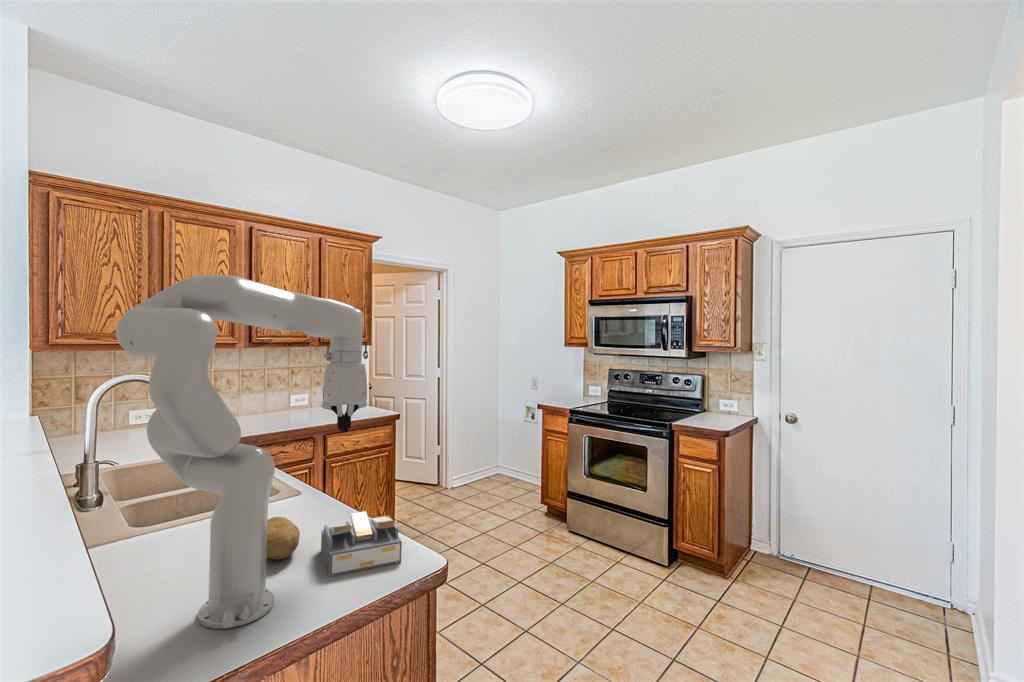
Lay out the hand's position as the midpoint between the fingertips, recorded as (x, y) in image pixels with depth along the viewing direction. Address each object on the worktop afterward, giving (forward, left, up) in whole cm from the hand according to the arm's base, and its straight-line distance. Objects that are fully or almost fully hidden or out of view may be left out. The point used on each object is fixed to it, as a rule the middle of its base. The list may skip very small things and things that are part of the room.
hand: (343, 431), depth 120 cm
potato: (+1, +14, -29) cm, 32 cm away
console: (-7, -3, -29) cm, 30 cm away
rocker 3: (-7, -8, -22) cm, 24 cm away
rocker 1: (-7, +2, -22) cm, 23 cm away
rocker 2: (-7, -3, -22) cm, 23 cm away
